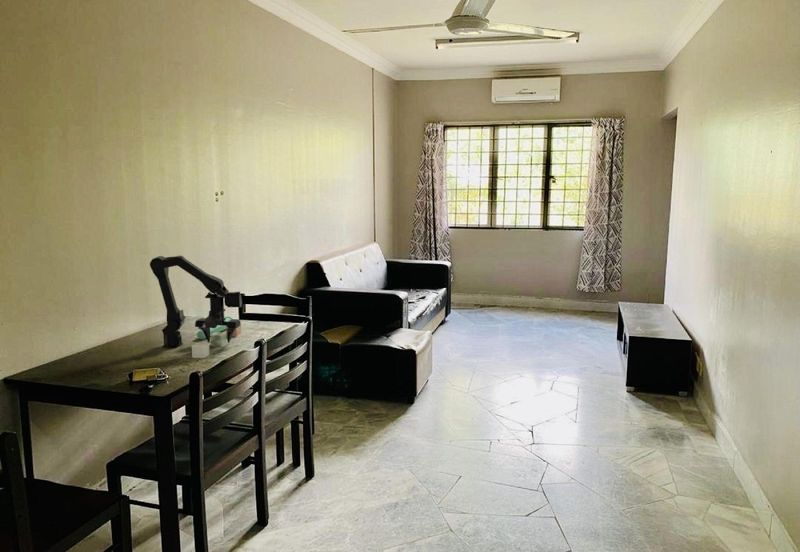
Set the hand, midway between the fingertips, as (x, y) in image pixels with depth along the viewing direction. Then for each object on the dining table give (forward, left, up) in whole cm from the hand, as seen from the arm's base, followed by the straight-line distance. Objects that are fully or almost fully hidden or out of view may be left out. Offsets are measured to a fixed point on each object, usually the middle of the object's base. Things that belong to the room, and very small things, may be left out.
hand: (218, 342), depth 261 cm
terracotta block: (0, +16, -1) cm, 16 cm away
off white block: (0, -17, -1) cm, 17 cm away
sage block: (0, 0, -1) cm, 1 cm away
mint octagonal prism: (-10, +18, -2) cm, 21 cm away
